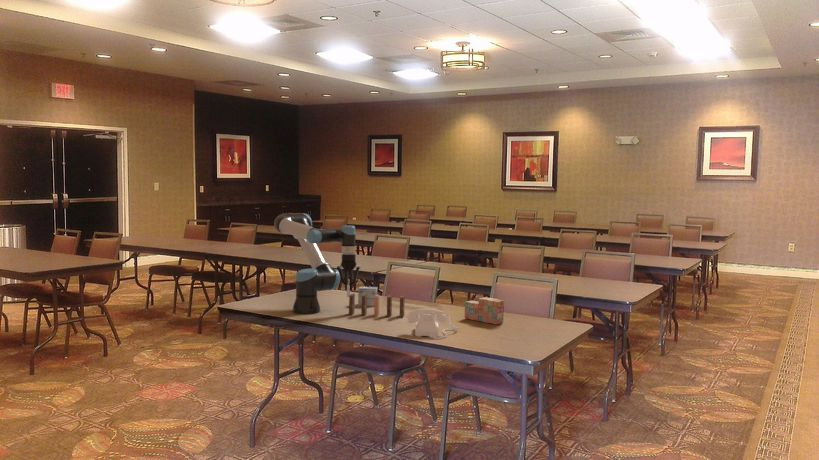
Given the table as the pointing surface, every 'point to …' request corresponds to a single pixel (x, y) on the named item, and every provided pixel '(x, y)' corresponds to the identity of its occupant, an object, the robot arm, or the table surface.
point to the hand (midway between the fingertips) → (348, 296)
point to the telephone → (429, 322)
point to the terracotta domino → (376, 305)
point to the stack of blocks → (485, 310)
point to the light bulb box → (370, 295)
